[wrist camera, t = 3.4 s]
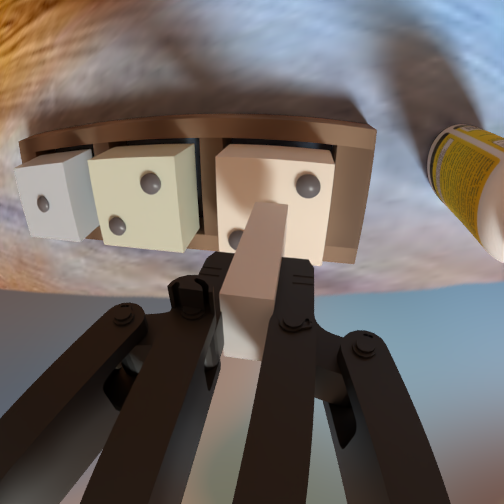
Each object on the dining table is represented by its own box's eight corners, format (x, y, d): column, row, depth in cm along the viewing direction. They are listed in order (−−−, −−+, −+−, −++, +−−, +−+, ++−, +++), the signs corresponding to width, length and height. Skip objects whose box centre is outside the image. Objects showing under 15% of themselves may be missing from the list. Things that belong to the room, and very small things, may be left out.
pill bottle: (444, 218, 19) (514, 319, 10) (409, 149, 17) (496, 222, 8) (501, 179, 17) (591, 256, 7) (473, 107, 15) (584, 150, 5)
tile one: (54, 218, 22) (29, 237, 19) (40, 155, 19) (11, 169, 16) (103, 221, 21) (78, 243, 19) (90, 148, 18) (60, 163, 16)
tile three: (231, 230, 20) (218, 258, 17) (229, 143, 17) (214, 157, 14) (319, 238, 19) (321, 267, 17) (329, 150, 16) (335, 165, 14)
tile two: (126, 222, 21) (103, 246, 18) (115, 146, 18) (85, 161, 15) (199, 227, 20) (182, 254, 18) (194, 143, 17) (172, 157, 15)
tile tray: (55, 221, 25) (40, 234, 23) (37, 133, 21) (18, 141, 18) (349, 245, 22) (354, 264, 20) (368, 124, 17) (376, 130, 15)
